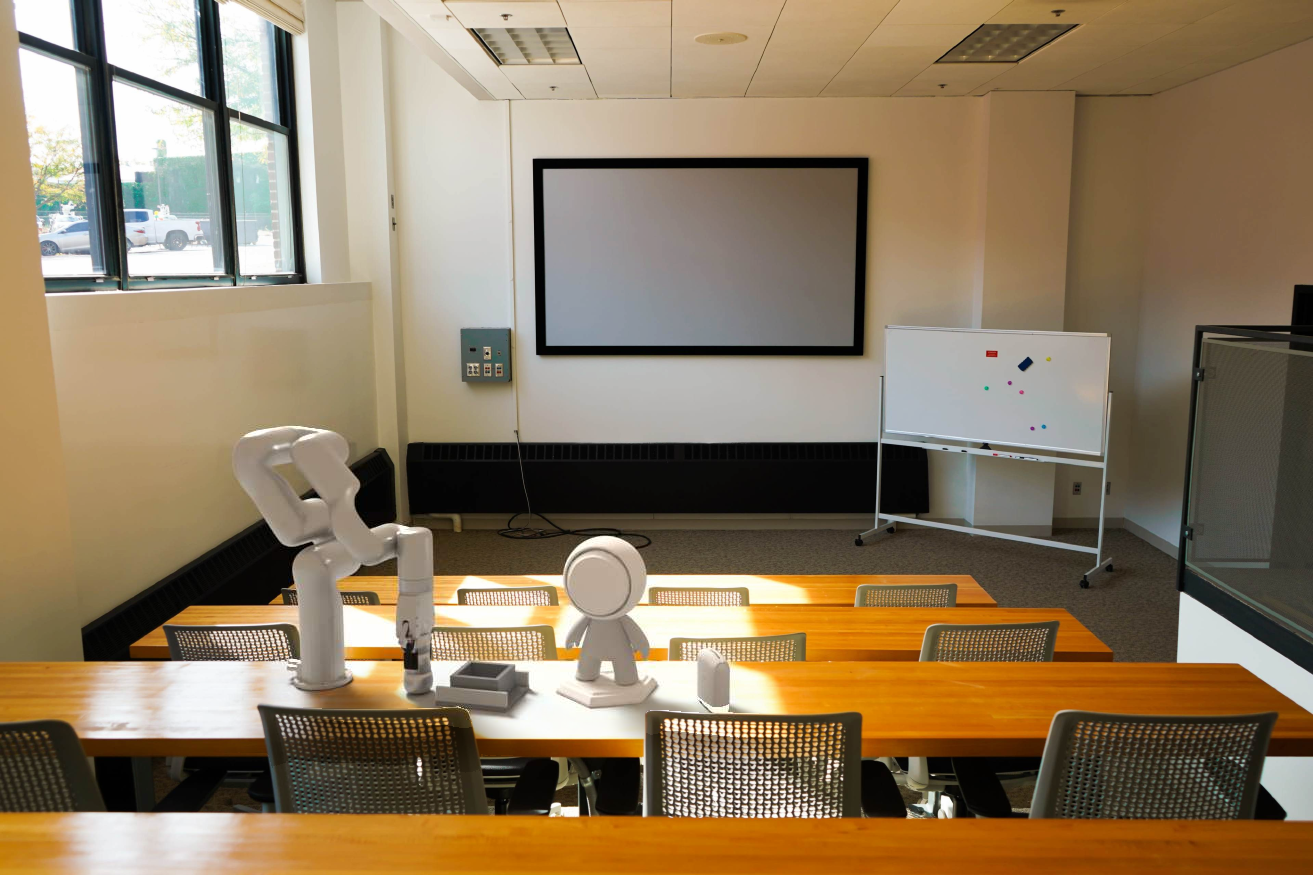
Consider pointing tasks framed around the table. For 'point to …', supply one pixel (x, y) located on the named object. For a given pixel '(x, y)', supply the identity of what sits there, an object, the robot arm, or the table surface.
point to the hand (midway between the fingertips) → (417, 663)
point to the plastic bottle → (420, 664)
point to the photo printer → (713, 678)
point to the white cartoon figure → (606, 623)
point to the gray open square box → (484, 686)
